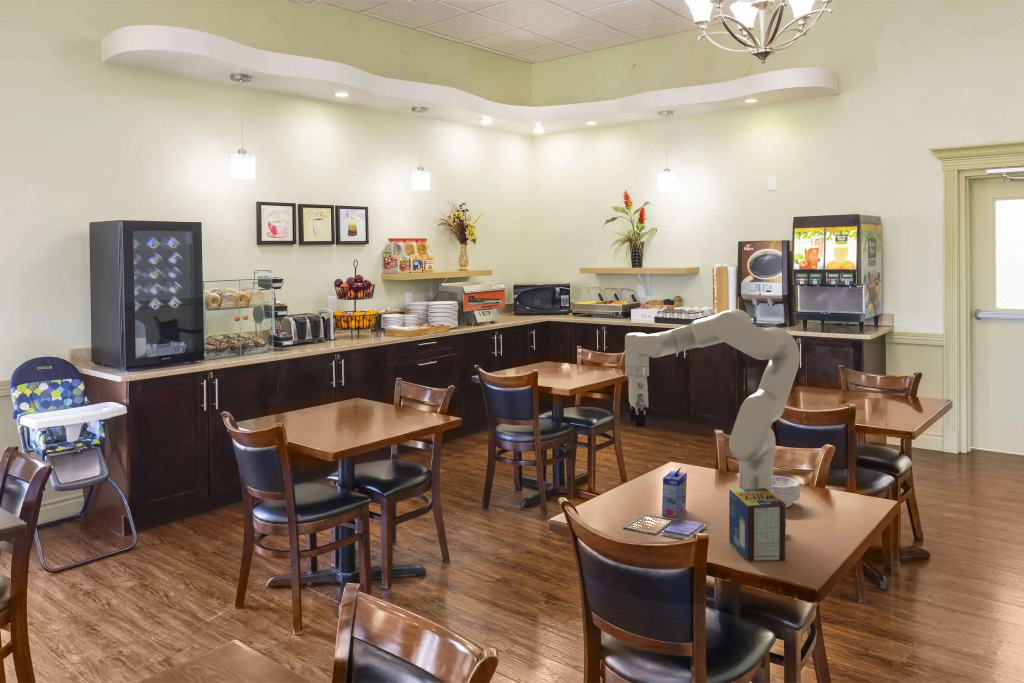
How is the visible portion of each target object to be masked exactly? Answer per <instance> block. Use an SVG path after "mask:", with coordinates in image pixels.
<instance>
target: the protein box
mask: <svg viewBox="0 0 1024 683" xmlns="http://www.w3.org/2000/svg"><path fill="white" fill-rule="evenodd" d="M728 493H729V494H728V495H729V497H728V498H729V509H728V510H729V511H728V512H729V514H728V515H729V516H728V520H729V522H728V523H729V524H728V526H729V527H728V528H729V529H728V531H729V532H728V534H729V535H728V542H729V541H730V542H731V543H732V544H733V545H732V544H731V543H730V542H729V543H730V544H731V545H732V546H733V547H734V546H735V547H736V549H737V550H738V551H739V552H740V553H741V554H742V555H741V554H740V553H739V552H738V551H737V550H736V549H735V550H736V551H737V552H738V553H739V554H740V555H741V557H742V556H743V557H744V558H745V559H746V560H747V561H757V562H776V561H777V562H778V561H779V562H780V561H781V562H782V561H783V562H784V561H786V529H787V527H786V522H787V521H786V518H787V516H786V515H787V514H786V512H787V511H786V510H787V509H786V508H787V507H786V504H785V503H784V502H783V501H781V500H780V499H779V498H777V497H776V496H775V495H774V494H772V493H771V492H770V491H768V490H767V489H766V488H741V489H739V488H729V492H728ZM785 528H786V529H785ZM735 547H734V548H735ZM743 557H742V558H743ZM744 558H743V559H744ZM745 559H744V560H745ZM746 560H745V561H746ZM747 561H746V562H747Z"/></svg>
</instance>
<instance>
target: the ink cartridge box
mask: <svg viewBox="0 0 1024 683" xmlns="http://www.w3.org/2000/svg"><path fill="white" fill-rule="evenodd" d="M681 469H682V467H681V466H680V467H679V468H678V469H677V470H676V471H675V470H671V471H669V472H668V474H666V475H665V476H664V477H662V496H661V497H662V499H661V504H662V505H661V507H662V508H661V516H665V515H666V516H665V517H667V516H668V517H671V516H672V517H671V518H676V517H677V518H679V517H680V516H681V515H682V514H683V513H684V512H685V511H686V510H685V509H687V508H686V507H687V504H686V503H687V481H688V480H687V479H688V473H686V472H683V471H681ZM682 512H683V513H682Z"/></svg>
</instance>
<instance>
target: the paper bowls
mask: <svg viewBox="0 0 1024 683" xmlns="http://www.w3.org/2000/svg"><path fill="white" fill-rule="evenodd" d="M800 493H801V483H800V481H799V480H796V479H794V478H792V477H787V476H783V475H782V476H780V475H773V494H774V495H775V496H776V497H777V498H779V499H780V500H781V501H783V502H784V503H785V504H786V508H789V507H791V505H792V504H793V503H794V502H795V501H798V500H799V499H800V495H801V494H800Z"/></svg>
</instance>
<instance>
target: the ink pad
mask: <svg viewBox="0 0 1024 683" xmlns="http://www.w3.org/2000/svg"><path fill="white" fill-rule="evenodd" d="M706 528H707V524H705V523H704V522H699V521H692V520H690V519H689V520H688V519H683V518H679V519H677V520H676V521H675V522H674V523H673V524H671V525H670V526H668V527H667V528H665V529H664V530H662V531H661V535H662V534H663V535H662V536H664V535H667V536H666V537H669V536H670V538H674V539H679V540H684V539H685V538H692V536H693V534H694V533H697V532H700V533H702V532H703V531H704V530H706ZM702 530H703V531H702ZM692 539H693V538H692Z"/></svg>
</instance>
